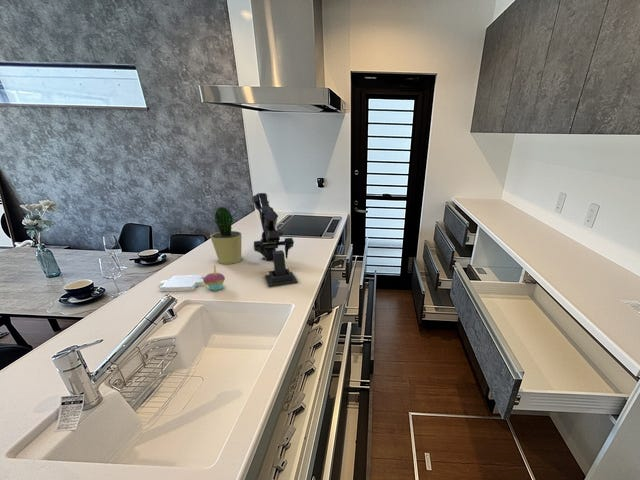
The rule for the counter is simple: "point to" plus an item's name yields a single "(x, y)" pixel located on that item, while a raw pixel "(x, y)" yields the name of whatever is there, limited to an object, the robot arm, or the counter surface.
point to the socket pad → (280, 279)
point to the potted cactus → (226, 238)
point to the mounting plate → (182, 283)
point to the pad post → (279, 263)
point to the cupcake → (214, 280)
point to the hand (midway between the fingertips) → (277, 259)
